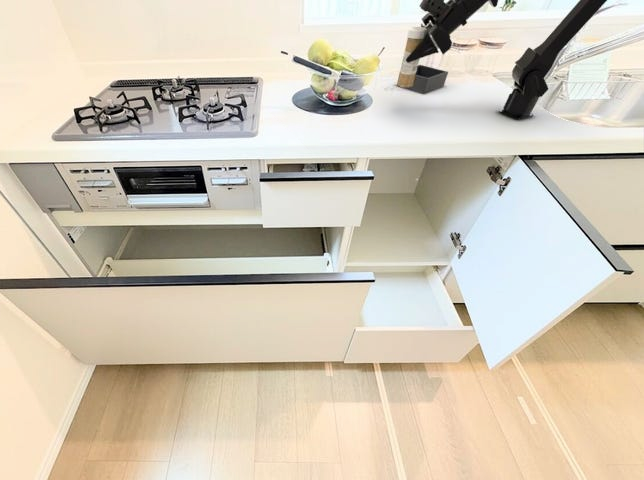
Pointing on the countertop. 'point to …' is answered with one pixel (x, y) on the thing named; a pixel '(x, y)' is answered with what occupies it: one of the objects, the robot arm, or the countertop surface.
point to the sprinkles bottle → (408, 68)
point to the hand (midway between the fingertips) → (405, 58)
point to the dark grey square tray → (427, 79)
